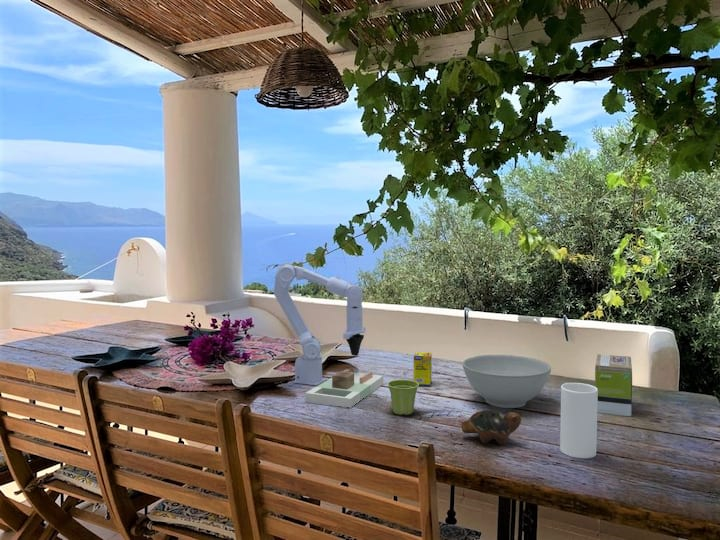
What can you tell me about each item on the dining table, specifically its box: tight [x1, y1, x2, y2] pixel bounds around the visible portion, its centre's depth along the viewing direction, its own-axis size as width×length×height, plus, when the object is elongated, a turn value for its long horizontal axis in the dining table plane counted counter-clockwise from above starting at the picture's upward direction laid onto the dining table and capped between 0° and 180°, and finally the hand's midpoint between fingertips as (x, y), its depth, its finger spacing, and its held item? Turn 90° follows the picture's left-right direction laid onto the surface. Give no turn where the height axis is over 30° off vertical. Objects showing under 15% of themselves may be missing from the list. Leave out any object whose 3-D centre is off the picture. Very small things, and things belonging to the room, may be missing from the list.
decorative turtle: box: [460, 409, 522, 446], centre depth 137 cm, size 10×15×8 cm, turn 80°
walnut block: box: [331, 371, 355, 389], centre depth 177 cm, size 6×6×4 cm
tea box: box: [594, 353, 633, 417], centre depth 162 cm, size 15×10×15 cm, turn 154°
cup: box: [559, 382, 598, 459], centre depth 130 cm, size 8×8×16 cm
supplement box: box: [413, 351, 433, 388], centre depth 188 cm, size 6×6×11 cm
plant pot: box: [387, 379, 420, 416], centre depth 160 cm, size 9×9×9 cm
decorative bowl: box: [462, 354, 552, 409], centre depth 168 cm, size 27×27×12 cm
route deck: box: [304, 368, 385, 409], centre depth 179 cm, size 16×28×5 cm, turn 156°
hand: (354, 355), depth 193 cm, fingers closed
